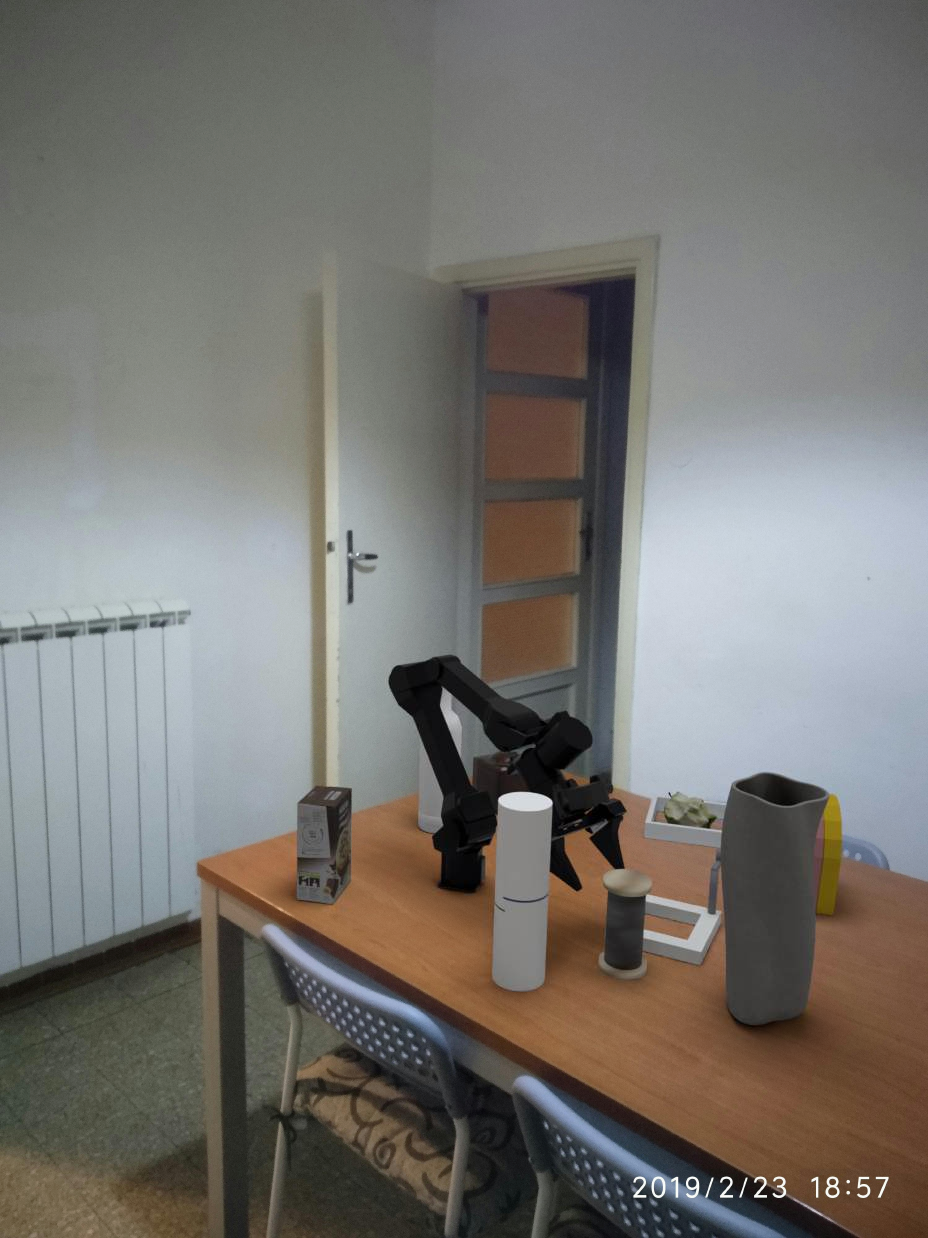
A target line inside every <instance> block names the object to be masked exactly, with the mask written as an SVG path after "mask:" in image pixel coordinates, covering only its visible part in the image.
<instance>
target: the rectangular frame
mask: <svg viewBox="0 0 928 1238" xmlns="http://www.w3.org/2000/svg"><path fill="white" fill-rule="evenodd" d="M720 869H721V848H716V852H715V861H714V863H713V865H712V866H711V868H710V876H709V887H708V888H709V889H708V900H707V901H708V903H707V907H704V906H700V905H695V904H691V903H688V902H687V903H686V902H684V901H683V902H682V901H678V900H674V899H670V898H665V897H660V896H656V895H653V894H652V895H651V894H647V895H646V904H645V915H650V916H655V917H660V918H663V919H667V918H668V920H672V921H675V920H676V921H675V922H679V923H685V924H690V925H693V926H694V927H693V929H692V931H691V932H690V935H689V937H688V939H685V938H680V937H676V936H672V935H668V934H664V933H661V932H656V931H652V930H649V929H644V936H643V952H647V953H651V954H652V955H653V954H654V955H658V956H662V957H666V958H669V959H673V960H677V961H682V962H686V963H689V964H693V965H698V966H701V965H702V963H703V961H704V959H705V957H706V955H707V952H708V950H709V948H710V946H711V944H712V942H713V941H714V938H715V936H716V934H717V932H718V930H719V928H720V926H721V922H722V911H721V910H717V900H718V899H717V898H718V890H719V889H718V887H719V875H720V874H719V873H720ZM605 932H606V927H605V928H604V933H605Z"/></svg>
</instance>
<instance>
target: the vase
mask: <svg viewBox="0 0 928 1238" xmlns="http://www.w3.org/2000/svg"><path fill="white" fill-rule="evenodd" d="M829 794H830V793H829V791H827V790H826V789H825V788H823V787H821V786H819V785H816V784H812V783H808V782H804V781H801V780H797V779H793V778H791V777H788V776H786V775H783V774H780V773H776V772H769V771H762V772H758V773H754V774H752V775H750V776H747V777H744V778H739V779H737V780H735V781H732V782H731V785H730V789H729V792H728V796H727V800H726V808H725V813H724V819H722V825H721V826H722V827H721V830H722V834H721V848H720V849H721V867H720V871H721V872H720V873H721V875H720V876H721V889H722V902H723V903H722V904H723V917H724V919H723V920H724V939H725V940H724V941H725V995H726V1001H727V1006H728V1010H729V1012H730V1014H731V1015H732V1016H733V1017H734V1018H735V1019H736V1020H737V1021H739V1022H741V1023H742V1024H746V1025H750V1026H762V1025H766V1024H768V1023H771V1022H778V1021H786V1020H791V1019H795V1018H796V1017H797V1016H799V1015H801V1014H802V1012H804V1011H805V1009H806V1007H807V1004H808V1000H809V994H810V987H811V983H812V977H813V969H814V961H815V947H816V922H817V919H816V912H815V893H814V868H813V862H814V847H815V840H816V835H817V831H818V827H819V824H820V821H821V818H822V815H823V812H824V810H825V807H826V805H827V802H828V800H829V797H830V795H829Z"/></svg>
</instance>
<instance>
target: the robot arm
mask: <svg viewBox="0 0 928 1238" xmlns="http://www.w3.org/2000/svg"><path fill="white" fill-rule="evenodd" d="M387 682H388V687H389V689H390V692H391V694H392V695H393V697H394V699H395V701H396V704H397V705H398V706H399V707H400V708H401V709H402V710H404V711H405V713H407V714H408V715H409V716H411V717H412V719H413V721H414V724H415V727H416V728H417V729H416V730H417V732H418V734H419V738H420V737H421V740H422V742H423V745H424V748H425V750H426V753H427V755H428V758H429V761H430V763H431V766H432V768H433V771H434V774H435V776H436V779H437V781H438V784H439V787H440V789H441V792H442V794H443V803H442V810H441V819H442V823H443V826H442V827H441V828H440V829H439V830H438V831H437V832H436V833H435V834H434V833H433V835H432V836H431V841H432V845H433V849H434V850H435V851H437V852H439V853H440V855H441V856H440V879H439V880H438V882H437V883H436V885H437V888H441V889H443V888H444V889H446V890H453V891H454V890H456V891H461V892H466V893H467V892H468V893H475V892H476V891H477V890H478V889H479V887H480V886H481V885H482V884H483V883H484V881H485V878H486V860H487V859H486V855H485V854H484V855H483V852H484V851H483V849H484V848H483V847H487V846H488V847H489V846H490V845H491V843H492V840H493V838H494V836H495V834H496V833H497V822H498V817H497V815H496V813H497V811H496V810H495V809H494V807H493V805H492V802H491V799H490V795H489V794H488V792H487V791H486V790H485V791H481V792H479V791H478V790H476V789H475V788H474V787H473V786H472V783H471V781H470V778H469V776H468V773H467V770H466V768H465V766H464V763H463V760H462V757H461V758H460V755H459V753H458V750H457V748H456V745H455V743H454V740H453V738H452V735H451V733H450V730H449V727H448V725H447V722H446V720H445V717H444V715H443V712H442V710H441V707H440V703H441V697H442V691H443V688H442V687H444V688H445V689H446V690H447V691H448V692H449V693H450V694H451V695H452V696H453V697H454V698H455V699H456V700H457V702H459V703H461V704H462V705H463V706H464V707H465V708H466V709H467V710H468V711H469V712H470V713H472V714H473V715H474V717H476V718H478V719H479V721H480V723H482V728H483V729H482V730H483V733H484V735H485V736H486V737H487V739H488V740H489V741H490V742H491V743H492V744H493V746H494V747H495V748H496V749H497V750H498V751H501V752H509V751H513V750H514V751H516V750H521V749H525V748H526V749H525V750H523V751H522V752H521V753H520V755H516V756H512V757H510V758H509V760H510V762H509V765H508V768H507V774H508V775H513V774H516V773H519V775H520V777H521V778H522V780H523V782H524V784H525V786H526V787H527V789H528V791H529V792H530V793H536V794H541V795H544V796H546V797H548V798H550V799H551V800H552V827H551V850H550V871H549V873H551V874H552V875H554V876H555V877H557V878H558V879H559V880H561V881H562V882H563V883H565V884H566V886H568V887H570V888H571V889H573V890H574V891H575V892H579V891H581V890H582V889H583V885H582V882H581V879H580V877H579V875H578V873H577V871H576V870H575V868H574V866H573V864H572V862H571V861H570V858H569V856H568V854H567V851H566V840H565V837H567V836H568V835H569V836H570V835H572V834H575V833H578V832H580V831H583V830H584V831H586V832H587V833H589V834H590V835H591V836H590V837H588V839H589V840H590V841H591V843H592V844H593V846H595V848H596V849H597V850H598V852H600V854H601V855H602V856H603V858H604V859H605V860H606V861H607V862H608V863H609V865H610V866H611V867H612V868H613V870H616V869H626V868H625V863H624V858H623V853H622V848H621V844H620V836H619V831H620V830H619V829H620V825H621V823H622V822H624V815H625V814H626V813H627V812H628V811H627V809H626V807H625V806H624V804H623V803H622V800H620V799H617V798H614V797H613V798H610V796H609V795H612V794H613V792H614V785H613V783H612V781H611V779H610V778H609V777H608V775H607V774H606V772H600V773H597V774H593V775H590V776H589V783H585V784H582V785H579V784H578V782H577V781H576V780H575V779H574V778H569V779H567V778H566V776H565V774H564V772H563V771H562V770H566V769H568V768H569V767H570V766H571V765H573V764H574V763H575V762H576V761H577V760H578V759H579V758H580V757H581V756H582V755H583V754H585V753H586V752H587V751H588V750H589V749H590V748H591V747H592V745H593V743H594V742H593V741H594V740H593V735H592V732H591V730H590V727H589V726H587V725H585V723H584V722H582V721H581V720H580V719H578V718H576V717H574V716H571V715H570V714H569V712H568V710H566V709H565V710H562V711H557V712H555V713H554V715H553V716H551V717H550V718H551V720H550V721H549V722H547V721H545V719H543V718H541V717H540V716H539V714H538V713H537V712H536V711H535V710H533V708H532V709H531V708H530V707H528V706H526V705H524V704H522V702H521V703H520V702H519V701H514V700H510V699H507V698H505V697H503V696H501V695H500V694H499V693H497V692H496V691H495V690H494V689H493V688H491V687H490V686H489V685H488V684H487V683H485V682H484V681H483V680H482V679H480V677H479V676H477V675H476V674H475V673H474V672H472V671H471V670H470V669H469V668H468V667H466V666H465V665H464V664H463V663H462V662H461V659H460V658H459V657H458V656H457V655H455V654H444V655H437V656H433V657H431V658H429V659H427V660H423V661H422V660H421V661H417V662H416V661H415V662H410V663H402V664H397V665H395V666H393V668H392V669H391V671H390V674H389V675H388V681H387ZM532 746H534V747H532Z"/></svg>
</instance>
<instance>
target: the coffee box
mask: <svg viewBox="0 0 928 1238" xmlns="http://www.w3.org/2000/svg"><path fill="white" fill-rule="evenodd" d="M352 791H353V789H352V788H351V787H344V786H343V787H342V786H341V787H340V786H332V785H331V786H326V785H324V786H323V785H315V786H314V787H313V788H312V789H311V790H310V791H309V792H308V793H307V794H306V795H304V797H302V798H301V799H300V800H299V801H297V807H296V808H297V809H296V812H297V814H296V815H297V816H296V818H297V819H296V825H297V826H296V827H297V829H296V832H297V833H296V899H297V900H300V901H308V902H313V903H320V904H329V905H333V904H335V902H336V901H337V899H338V898H339V897H340V895H342V893H343V891H344V890H345V889H346V888H347V886H348V885H349V883H350V882H351V881H352V819H353V817H352V814H353V813H352V811H353V809H352V808H353V807H352V805H353V804H352V801H353V800H352V799H353V796H352V795H353V793H352Z"/></svg>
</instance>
